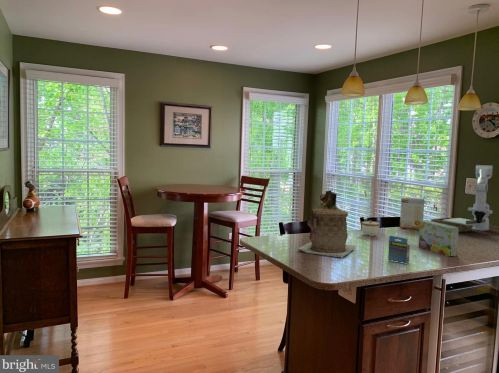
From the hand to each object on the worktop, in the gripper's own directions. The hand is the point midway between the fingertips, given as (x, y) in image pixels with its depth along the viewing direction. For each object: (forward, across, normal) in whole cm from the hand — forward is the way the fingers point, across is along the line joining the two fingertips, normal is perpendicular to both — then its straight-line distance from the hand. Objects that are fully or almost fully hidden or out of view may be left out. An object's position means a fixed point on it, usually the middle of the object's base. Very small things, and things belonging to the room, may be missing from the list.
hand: (479, 223), depth 253 cm
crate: (+7, -19, 0) cm, 20 cm away
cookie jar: (+8, -10, -117) cm, 118 cm away
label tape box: (+8, +22, -100) cm, 103 cm away
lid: (+1, -10, 0) cm, 10 cm away
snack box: (+8, +17, -65) cm, 68 cm away
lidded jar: (+8, -28, -67) cm, 73 cm away
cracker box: (+8, -32, -24) cm, 41 cm away
